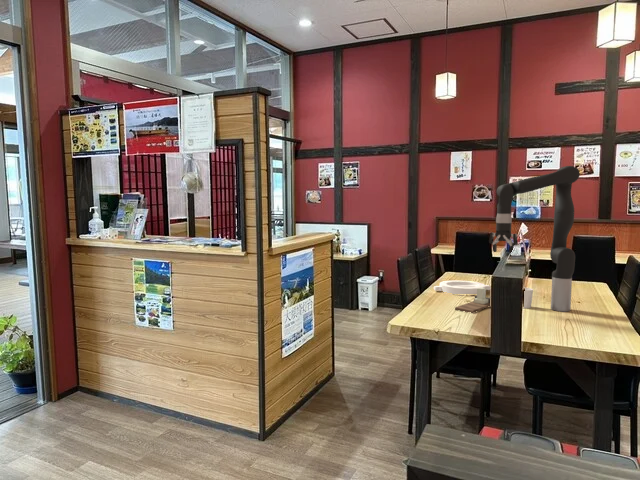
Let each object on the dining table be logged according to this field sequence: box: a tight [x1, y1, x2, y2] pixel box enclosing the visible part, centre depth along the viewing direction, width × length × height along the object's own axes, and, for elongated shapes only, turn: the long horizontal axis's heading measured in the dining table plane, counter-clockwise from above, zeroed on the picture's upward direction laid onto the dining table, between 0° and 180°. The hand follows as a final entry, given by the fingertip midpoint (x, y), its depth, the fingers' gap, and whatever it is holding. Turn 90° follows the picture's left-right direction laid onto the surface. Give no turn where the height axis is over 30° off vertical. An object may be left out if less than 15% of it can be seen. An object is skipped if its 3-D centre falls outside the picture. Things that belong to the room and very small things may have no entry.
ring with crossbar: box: [433, 279, 491, 295], centre depth 284 cm, size 28×28×5 cm
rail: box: [454, 295, 491, 314], centre depth 240 cm, size 24×10×4 cm, turn 134°
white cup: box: [523, 287, 534, 309], centre depth 241 cm, size 8×8×10 cm
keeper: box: [473, 287, 489, 304], centre depth 245 cm, size 5×6×8 cm
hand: (502, 252), depth 237 cm, fingers open, 8 cm apart
